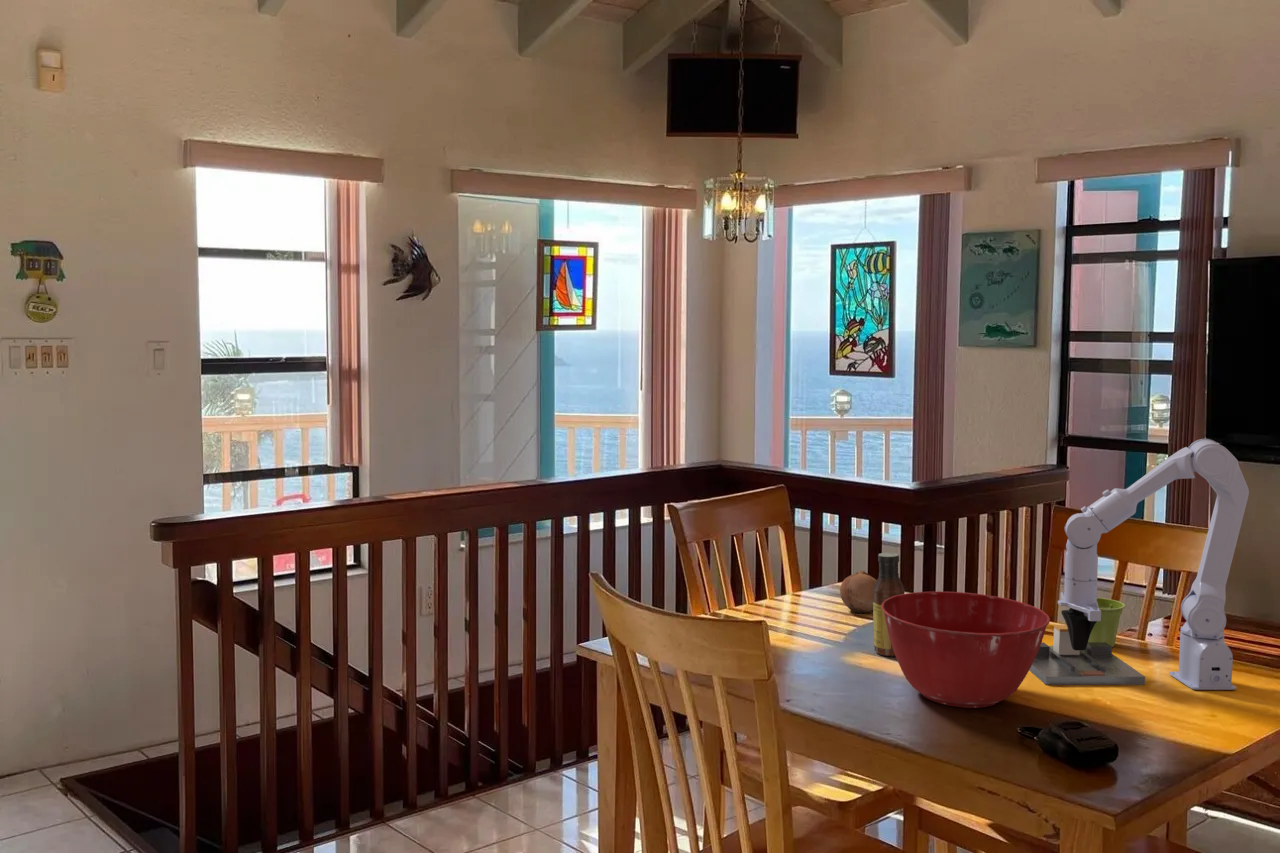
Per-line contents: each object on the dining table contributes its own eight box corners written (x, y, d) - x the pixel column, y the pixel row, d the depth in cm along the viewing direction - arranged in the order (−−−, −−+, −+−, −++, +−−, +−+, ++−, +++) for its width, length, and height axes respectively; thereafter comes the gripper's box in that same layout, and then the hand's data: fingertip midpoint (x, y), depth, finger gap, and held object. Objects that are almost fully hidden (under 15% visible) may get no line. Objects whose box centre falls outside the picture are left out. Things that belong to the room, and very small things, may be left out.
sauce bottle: (903, 649, 234) (906, 551, 232) (907, 658, 227) (910, 557, 226) (870, 648, 234) (872, 550, 232) (873, 657, 228) (875, 557, 226)
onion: (858, 620, 268) (860, 577, 271) (890, 617, 261) (892, 573, 264) (829, 610, 263) (832, 567, 266) (861, 607, 256) (864, 563, 259)
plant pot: (1115, 654, 231) (1117, 611, 230) (1067, 645, 237) (1068, 603, 236) (1128, 643, 238) (1130, 601, 237) (1081, 635, 244) (1083, 595, 243)
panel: (1144, 684, 211) (1145, 665, 211) (1045, 684, 211) (1046, 665, 211) (1100, 653, 231) (1101, 635, 231) (1009, 653, 231) (1010, 635, 231)
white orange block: (1079, 654, 224) (1080, 629, 223) (1058, 654, 224) (1059, 629, 223) (1073, 650, 227) (1074, 625, 226) (1053, 650, 227) (1054, 625, 226)
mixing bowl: (1061, 687, 210) (1064, 602, 209) (1026, 735, 186) (1029, 640, 184) (908, 663, 224) (910, 584, 223) (856, 705, 200) (858, 616, 199)
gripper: (1045, 570, 225) (1043, 639, 227) (1074, 587, 211) (1072, 660, 212) (1082, 569, 225) (1080, 638, 227) (1113, 586, 211) (1110, 660, 212)
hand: (1078, 649), depth 219 cm, fingers closed
